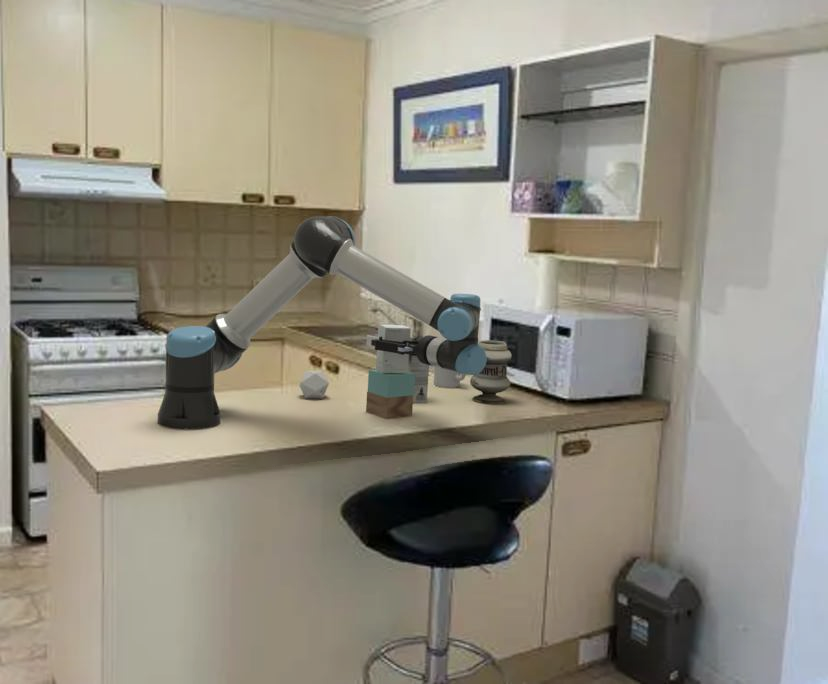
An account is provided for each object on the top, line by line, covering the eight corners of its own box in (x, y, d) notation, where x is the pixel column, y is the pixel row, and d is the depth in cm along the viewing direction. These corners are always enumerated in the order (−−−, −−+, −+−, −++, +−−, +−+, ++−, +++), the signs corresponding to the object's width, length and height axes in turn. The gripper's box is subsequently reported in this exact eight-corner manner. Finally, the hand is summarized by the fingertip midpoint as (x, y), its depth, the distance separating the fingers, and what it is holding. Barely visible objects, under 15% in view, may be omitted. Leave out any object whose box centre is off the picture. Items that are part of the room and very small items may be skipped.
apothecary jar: (465, 402, 262) (469, 342, 260) (472, 395, 274) (476, 337, 272) (506, 406, 260) (510, 346, 257) (511, 399, 271) (515, 341, 269)
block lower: (385, 419, 235) (386, 397, 234) (366, 413, 242) (367, 391, 241) (412, 416, 241) (413, 395, 240) (391, 409, 248) (393, 389, 247)
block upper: (387, 397, 235) (388, 375, 234) (367, 391, 241) (368, 370, 241) (413, 395, 240) (415, 373, 239) (393, 389, 247) (394, 367, 246)
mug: (428, 384, 287) (430, 351, 286) (445, 382, 293) (447, 349, 292) (455, 391, 279) (457, 356, 277) (473, 388, 285) (475, 355, 284)
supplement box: (381, 374, 235) (384, 327, 234) (375, 369, 242) (377, 323, 241) (408, 374, 237) (411, 327, 236) (401, 369, 244) (403, 324, 243)
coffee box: (396, 396, 265) (399, 344, 263) (416, 396, 267) (419, 344, 265) (407, 403, 257) (410, 348, 254) (428, 402, 259) (431, 348, 257)
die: (319, 404, 252) (336, 376, 255) (293, 388, 251) (311, 360, 254) (316, 408, 260) (333, 381, 263) (291, 392, 259) (309, 365, 262)
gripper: (401, 369, 218) (349, 355, 235) (467, 363, 233) (413, 350, 250) (402, 339, 217) (350, 327, 234) (469, 335, 232) (415, 324, 249)
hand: (383, 339), depth 242 cm, fingers open, 10 cm apart
